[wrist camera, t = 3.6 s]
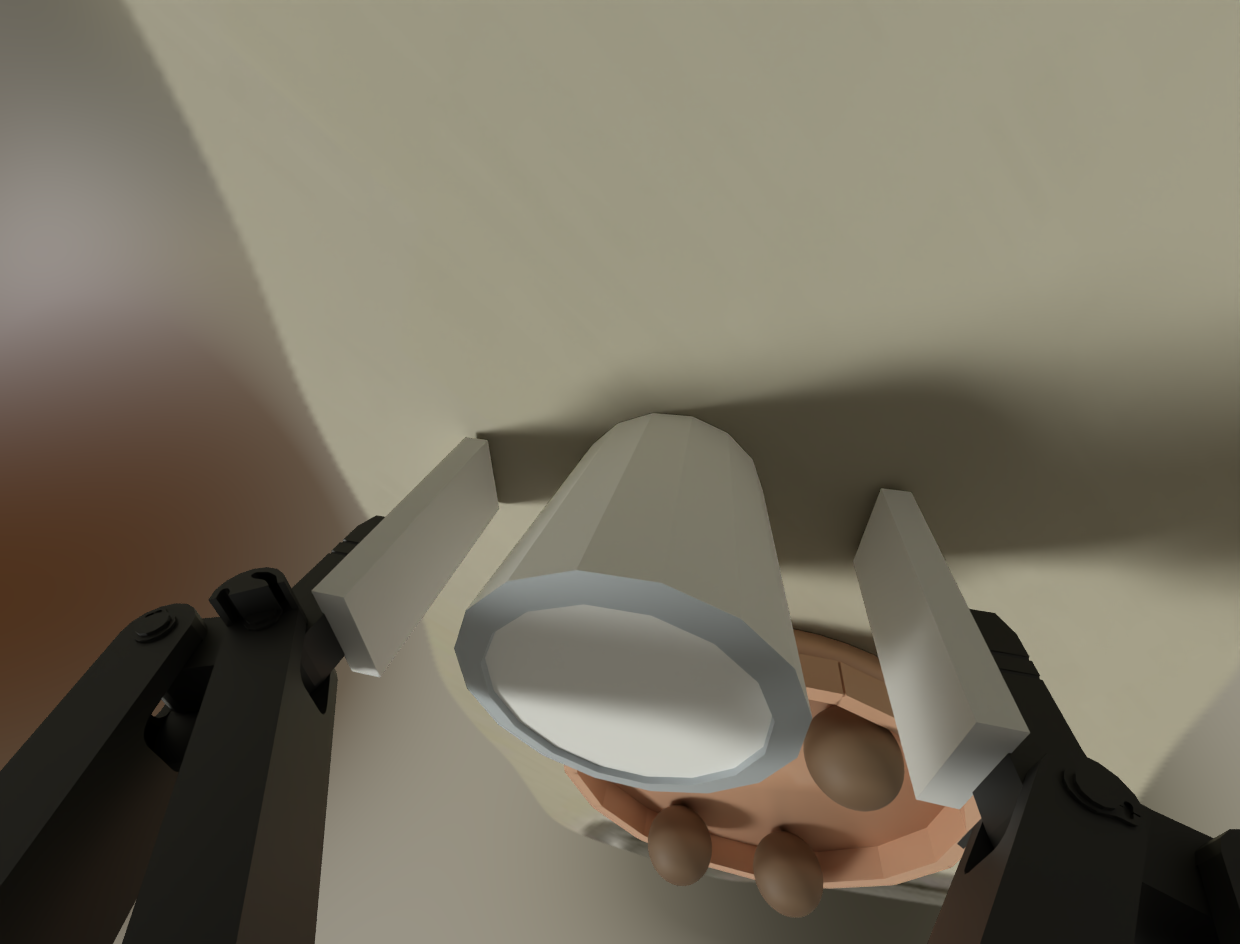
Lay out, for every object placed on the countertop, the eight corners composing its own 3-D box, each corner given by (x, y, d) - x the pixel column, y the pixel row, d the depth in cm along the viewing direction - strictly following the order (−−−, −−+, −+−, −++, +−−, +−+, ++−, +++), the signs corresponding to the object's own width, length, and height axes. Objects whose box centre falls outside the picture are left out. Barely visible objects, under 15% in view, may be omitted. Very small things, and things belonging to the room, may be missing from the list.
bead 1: (654, 786, 23) (643, 861, 21) (717, 802, 23) (713, 880, 20) (651, 813, 25) (641, 885, 22) (710, 828, 24) (705, 903, 22)
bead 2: (758, 812, 22) (759, 893, 20) (825, 829, 22) (836, 914, 19) (748, 838, 24) (748, 915, 21) (810, 854, 23) (818, 935, 21)
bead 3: (809, 679, 16) (821, 770, 14) (903, 697, 16) (932, 795, 13) (791, 726, 18) (798, 815, 16) (876, 743, 17) (897, 838, 15)
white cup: (838, 487, 13) (908, 734, 8) (688, 604, 17) (660, 826, 11) (639, 342, 12) (547, 500, 7) (527, 501, 16) (408, 688, 10)
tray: (568, 589, 18) (548, 636, 16) (1044, 673, 15) (1084, 741, 13) (583, 785, 27) (571, 830, 25) (886, 861, 24) (897, 918, 22)
